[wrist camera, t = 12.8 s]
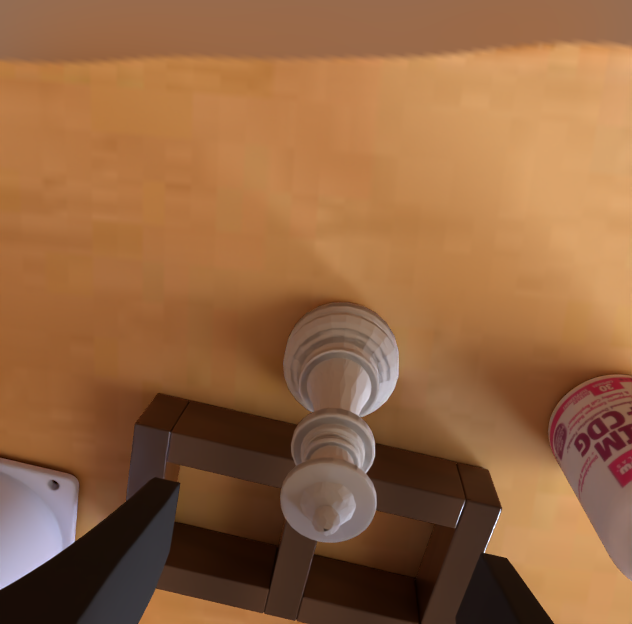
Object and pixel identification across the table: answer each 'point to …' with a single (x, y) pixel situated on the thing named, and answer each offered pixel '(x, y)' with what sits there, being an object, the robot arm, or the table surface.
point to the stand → (297, 550)
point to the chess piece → (336, 417)
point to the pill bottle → (599, 458)
